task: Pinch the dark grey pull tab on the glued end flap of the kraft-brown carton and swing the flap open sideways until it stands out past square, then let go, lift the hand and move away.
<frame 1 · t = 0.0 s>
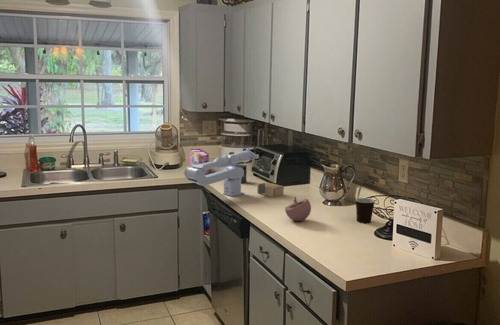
hand: (259, 152, 287), 22 cm above the worktop, tool horizontal, fingers open, 7 cm apart
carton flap: (262, 189, 273), point 4 cm above the worktop, hinge at 0.0°
coffee mug: (365, 220, 231), on the worktop
mortar and pestle: (297, 221, 230), on the worktop
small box: (236, 182, 309), on the worktop
carton: (270, 194, 279), on the worktop
gum box: (199, 170, 342), on the worktop
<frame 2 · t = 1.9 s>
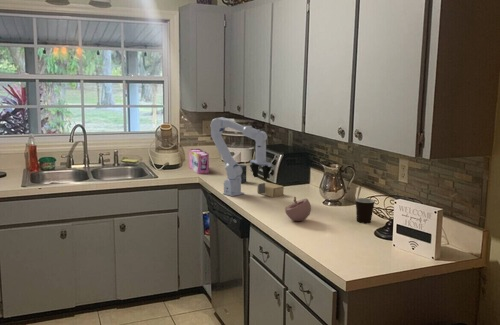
hand: (260, 177, 271), 10 cm above the worktop, tool pointing down, fingers open, 7 cm apart
nothing on the worktop moved.
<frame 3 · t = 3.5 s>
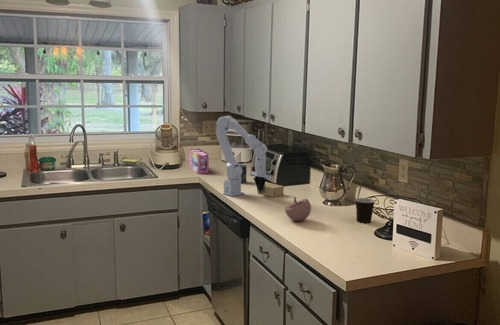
hand: (260, 190, 273), 3 cm above the worktop, tool pointing down, fingers closed, pressing on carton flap
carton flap: (262, 189, 273), point 4 cm above the worktop, hinge at 0.0°, touching gripper
everything else where it was.
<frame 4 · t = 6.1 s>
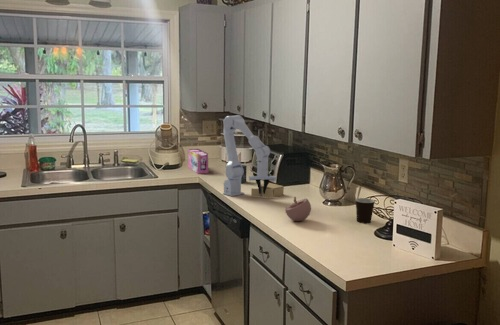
hand: (261, 193, 266), 3 cm above the worktop, tool pointing down, fingers closed
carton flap: (262, 191, 268), point 4 cm above the worktop, hinge at 42.2°, touching gripper
everything else where it was.
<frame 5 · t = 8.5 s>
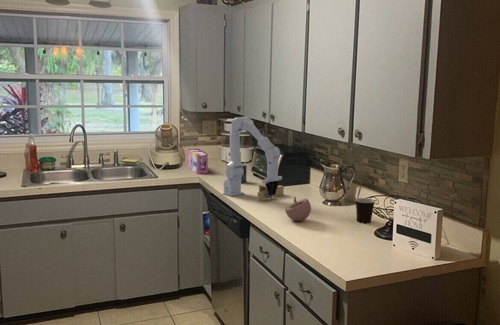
hand: (271, 195, 263), 3 cm above the worktop, tool pointing down, fingers closed
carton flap: (268, 193, 264), point 4 cm above the worktop, hinge at 87.5°, touching gripper
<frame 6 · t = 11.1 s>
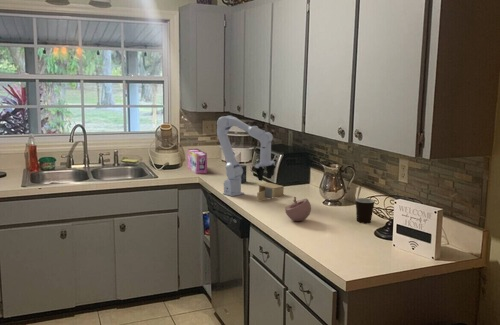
hand: (264, 179, 269), 10 cm above the worktop, tool pointing down, fingers open, 7 cm apart
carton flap: (268, 193, 264), point 4 cm above the worktop, hinge at 87.7°
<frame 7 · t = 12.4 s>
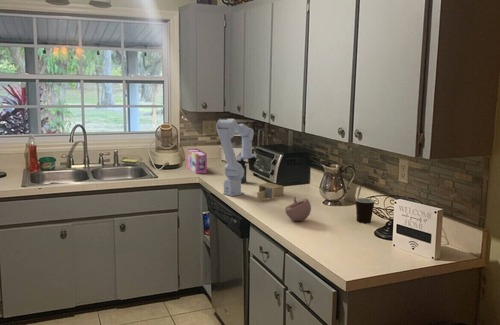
hand: (246, 171, 290), 10 cm above the worktop, tool pointing down, fingers open, 7 cm apart
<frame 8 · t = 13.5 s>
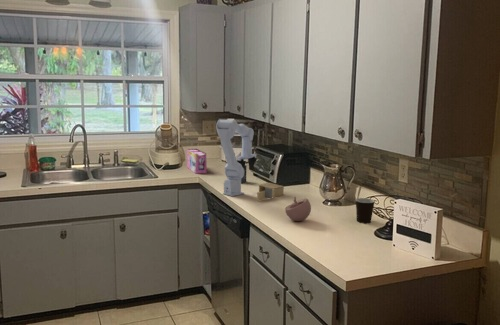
hand: (246, 171, 290), 10 cm above the worktop, tool pointing down, fingers open, 7 cm apart
at the end: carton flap at +88° (first picture: +0°); the gripper is holding nothing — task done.
